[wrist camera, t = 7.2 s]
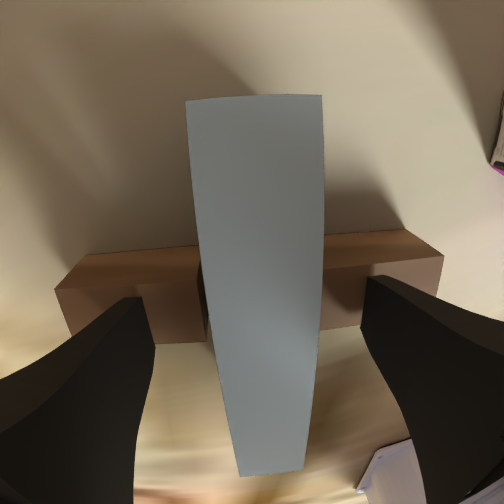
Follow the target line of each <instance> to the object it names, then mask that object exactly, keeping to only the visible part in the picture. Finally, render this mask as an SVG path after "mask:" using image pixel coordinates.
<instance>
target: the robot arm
mask: <svg viewBox="0 0 504 504" xmlns="http://www.w3.org/2000/svg"><path fill="white" fill-rule="evenodd" d="M360 329H361V331H362V334H363V337H364V339H365V342H366V345H367V347H368V349H369V352H370V354H371V356H372V357H373V359H374V361H375V363H376V365H377V366H378V368H379V370H380V372H381V374H382V375H383V377H384V379H385V381H386V382H387V384H388V386H389V388H390V390H391V391H392V393H393V395H394V397H395V399H396V401H397V403H398V405H399V407H400V409H401V411H402V414H403V417H404V419H405V422H406V425H407V427H408V430H409V433H410V436H411V439H409V440H406V441H403V442H400V443H397V444H394V445H391V446H387V447H384V448H381V449H379V450H377V451H376V452H375V454H374V456H373V458H372V460H371V462H370V464H369V466H368V468H367V470H366V472H365V474H364V476H363V478H362V479H361V481H360V483H359V485H358V487H357V489H356V490H355V491H356V493H357V494H359V493H363V492H365V493H366V496H367V499H368V502H369V504H504V322H503V321H499V320H495V319H492V318H488V317H485V316H482V315H479V314H476V313H473V312H470V311H468V310H465V309H462V308H460V307H457V306H455V305H453V304H450V303H448V302H445V301H443V300H441V299H439V298H436V297H434V296H432V295H430V294H428V293H426V292H423V291H421V290H419V289H417V288H415V287H413V286H411V285H409V284H406V283H404V282H402V281H400V280H397V279H395V278H392V277H390V276H387V275H376V276H367V281H366V290H365V298H364V305H363V312H362V319H361V325H360ZM155 348H156V347H155V343H154V340H153V337H152V333H151V330H150V326H149V322H148V319H147V315H146V311H145V307H144V303H143V299H142V296H140V297H124V298H122V299H121V300H119V301H118V302H116V303H115V304H114V305H112V306H111V307H110V308H108V309H107V310H106V311H105V312H103V313H102V314H101V315H100V316H98V317H97V318H96V319H94V320H93V321H92V322H91V323H89V324H88V325H87V326H86V327H84V328H83V329H82V330H81V331H79V332H78V333H76V334H75V335H74V336H72V337H71V338H70V339H68V340H67V341H66V342H64V343H63V344H62V345H60V346H59V347H57V348H56V349H55V350H53V351H52V352H50V353H48V354H47V355H45V356H44V357H42V358H40V359H39V360H37V361H35V362H34V363H32V364H30V365H28V366H26V367H24V368H22V369H20V370H18V371H16V372H15V373H13V374H11V375H9V376H7V377H4V378H2V379H0V504H133V483H134V462H135V451H136V441H137V435H138V429H139V425H140V421H141V417H142V413H143V409H144V405H145V401H146V397H147V393H148V389H149V385H150V381H151V377H152V373H153V365H154V357H155Z"/></svg>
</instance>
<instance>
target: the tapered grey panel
mask: <svg viewBox="0 0 504 504" xmlns="http://www.w3.org/2000/svg"><path fill="white" fill-rule="evenodd" d="M185 108H186V122H187V134H188V146H189V158H190V168H191V178H192V188H193V198H194V207H195V216H196V224H197V232H198V241H199V248H200V256H201V264H202V271H203V278H204V285H205V292H206V299H207V306H208V312H209V319H210V325H211V331H212V337H213V343H214V349H215V355H216V361H217V367H218V372H219V378H220V383H221V389H222V394H223V399H224V404H225V410H226V415H227V420H228V425H229V429H230V434H231V439H232V444H233V448H234V453H235V458H236V462H237V467H238V471H239V475H240V477H247V476H259V475H269V474H277V473H285V472H292V471H299V470H303V466H304V460H305V453H306V447H307V440H308V433H309V425H310V417H311V409H312V401H313V392H314V383H315V373H316V363H317V352H318V340H319V327H320V312H321V296H322V276H323V249H324V136H323V110H322V95H305V94H280V95H249V96H232V97H219V98H208V99H198V100H189V101H185Z"/></svg>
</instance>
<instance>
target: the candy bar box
mask: <svg viewBox="0 0 504 504" xmlns="http://www.w3.org/2000/svg"><path fill="white" fill-rule="evenodd" d="M490 165H491V167H492V168H494V169H495V170H497V171H498V172H499V173H501V174H502V175H504V96H503V102H502V106H501V114H500V121H499V127H498V133H497V137H496V141H495V145H494V149H493V154H492V158H491V162H490Z"/></svg>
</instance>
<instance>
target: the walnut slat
mask: <svg viewBox="0 0 504 504" xmlns="http://www.w3.org/2000/svg"><path fill="white" fill-rule="evenodd" d="M443 261H444V255H443V254H441V253H440V252H438V251H437V250H436V249H434V248H433V247H431V246H430V245H429V244H427V243H426V242H424V241H423V240H421V239H420V238H418V237H417V236H415V235H414V234H412V233H411V232H409V231H408V230H406V229H405V230H390V231H376V232H362V233H348V234H334V235H324V249H323V276H322V296H321V312H320V327H319V331H320V330H328V329H335V328H341V327H348V326H354V325H361V319H362V312H363V305H364V298H365V290H366V281H367V276H376V275H387V276H390V277H392V278H395V279H397V280H400V281H402V282H404V283H406V284H409V285H411V286H413V287H415V288H417V289H419V290H421V291H423V292H426V293H428V294H430V295H432V296H434V297H436V294H437V290H438V285H439V281H440V276H441V271H442V266H443ZM54 290H55V293H56V296H57V299H58V301H59V304H60V307H61V310H62V312H63V315H64V318H65V320H66V323H67V325H68V328H69V330H70V333H71V335H72V336H74V335H75V334H76V333H78V332H79V331H81V330H82V329H83V328H84V327H86V326H87V325H88V324H89V323H91V322H92V321H93V320H94V319H96V318H97V317H98V316H100V315H101V314H102V313H103V312H105V311H106V310H107V309H108V308H110V307H111V306H112V305H114V304H115V303H116V302H118V301H119V300H121V299H122V298H124V297H140V296H142V299H143V303H144V307H145V311H146V315H147V319H148V322H149V326H150V330H151V333H152V337H153V340H154V343H155V344H170V343H193V342H206V340H207V326H208V316H209V312H208V306H207V299H206V292H205V285H204V278H203V271H202V264H201V256H200V248H199V245H196V246H184V247H173V248H162V249H150V250H139V251H128V252H117V253H107V254H96V255H86V256H84V257H83V258H82V259H81V261H80V262H79V263H78V264H77V265H76V266H75V267H74V268H73V269H72V270H71V271H70V272H69V273H68V274H67V275H66V277H65V278H64V279H63V280H62V281H61V282H60V283H59V284H58V285H57V287H56V288H55V289H54Z"/></svg>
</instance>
